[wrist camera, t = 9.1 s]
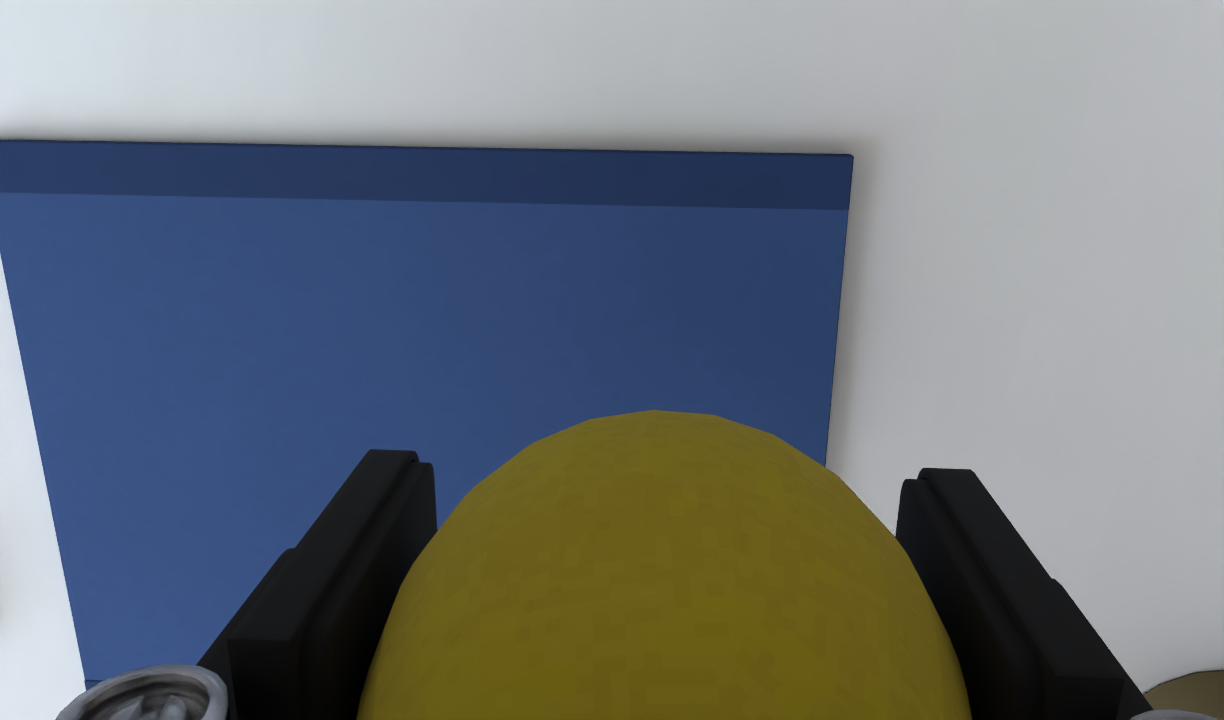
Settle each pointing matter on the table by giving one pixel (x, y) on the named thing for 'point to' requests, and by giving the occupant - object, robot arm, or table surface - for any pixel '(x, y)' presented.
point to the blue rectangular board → (377, 335)
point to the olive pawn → (1191, 694)
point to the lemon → (663, 590)
